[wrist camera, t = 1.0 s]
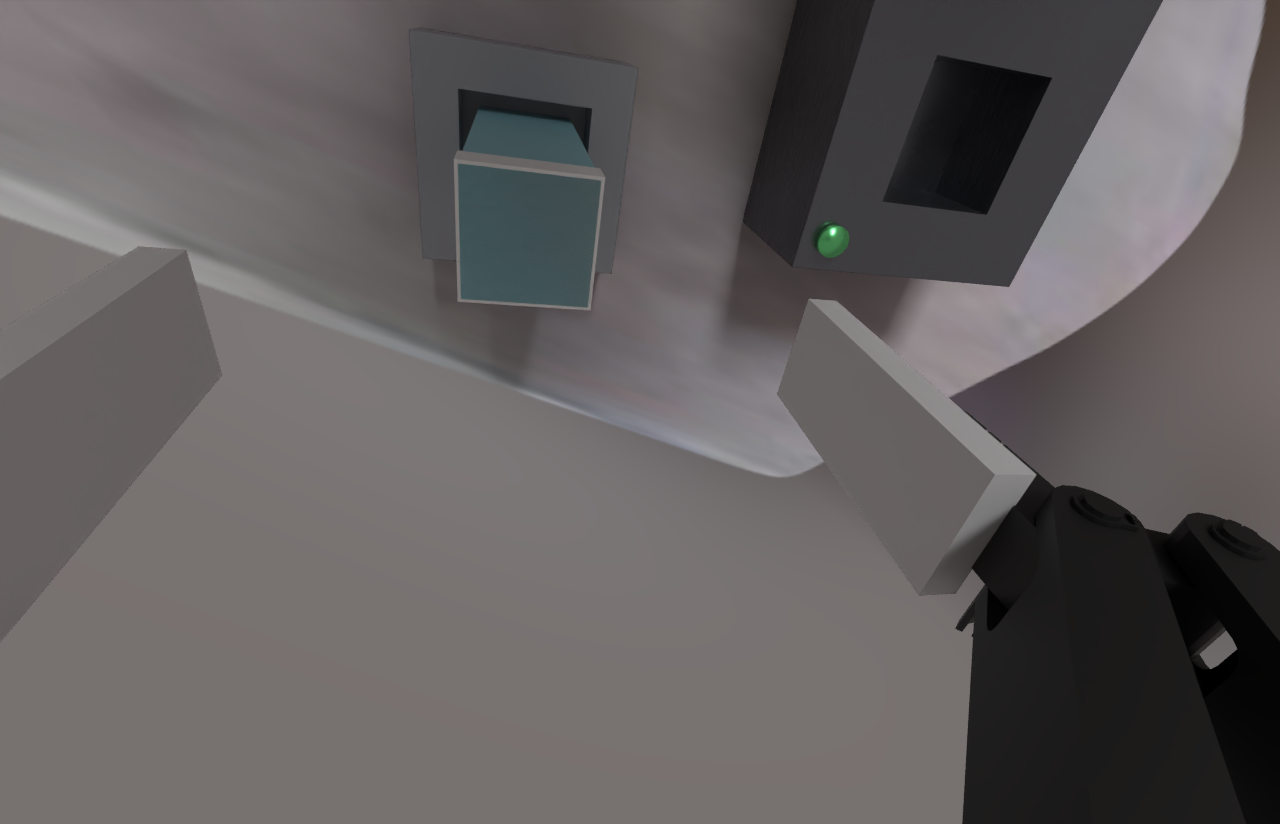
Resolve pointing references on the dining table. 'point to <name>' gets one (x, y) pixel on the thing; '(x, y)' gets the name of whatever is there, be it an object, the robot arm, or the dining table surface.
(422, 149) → the square frame socket
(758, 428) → the dining table surface
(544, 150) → the plug
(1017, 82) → the port
